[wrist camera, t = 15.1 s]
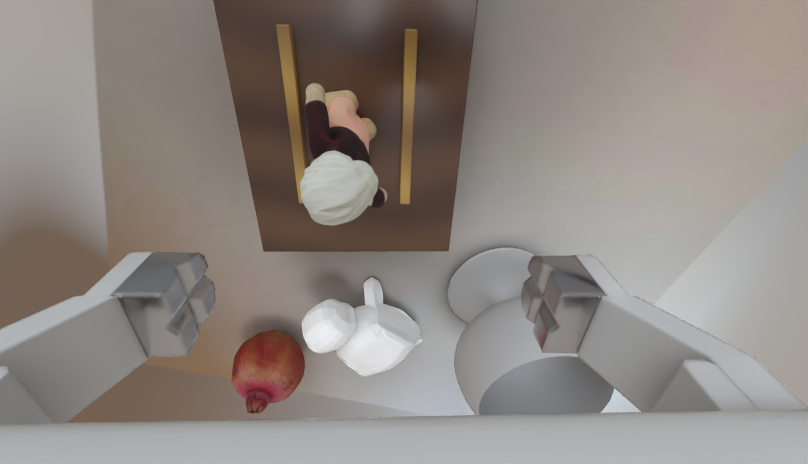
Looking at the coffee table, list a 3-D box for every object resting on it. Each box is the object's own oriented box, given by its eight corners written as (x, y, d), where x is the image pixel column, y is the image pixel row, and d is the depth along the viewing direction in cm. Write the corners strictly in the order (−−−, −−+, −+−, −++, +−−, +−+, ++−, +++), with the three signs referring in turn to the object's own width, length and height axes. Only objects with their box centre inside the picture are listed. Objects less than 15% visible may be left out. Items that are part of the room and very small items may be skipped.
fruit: (299, 365, 49) (282, 440, 40) (239, 350, 46) (206, 425, 38) (319, 325, 45) (304, 398, 36) (254, 307, 43) (222, 379, 34)
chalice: (501, 343, 48) (544, 460, 36) (416, 302, 44) (431, 420, 31) (579, 272, 43) (664, 381, 30) (491, 217, 38) (547, 318, 25)
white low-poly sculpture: (416, 295, 47) (331, 257, 37) (439, 354, 42) (347, 330, 31) (370, 328, 50) (278, 302, 39) (386, 388, 44) (285, 376, 34)
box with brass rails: (239, -62, 25) (189, -89, 19) (462, -50, 26) (489, -73, 20) (282, 213, 37) (260, 257, 30) (438, 214, 38) (450, 256, 31)
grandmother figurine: (292, 101, 25) (222, 169, 14) (332, 62, 23) (290, 100, 13) (369, 180, 28) (361, 285, 17) (407, 149, 27) (425, 239, 16)
